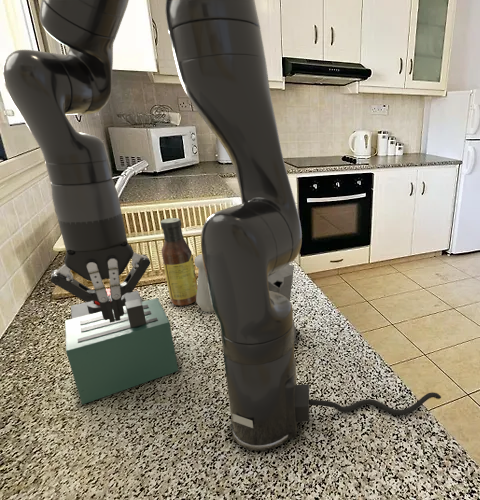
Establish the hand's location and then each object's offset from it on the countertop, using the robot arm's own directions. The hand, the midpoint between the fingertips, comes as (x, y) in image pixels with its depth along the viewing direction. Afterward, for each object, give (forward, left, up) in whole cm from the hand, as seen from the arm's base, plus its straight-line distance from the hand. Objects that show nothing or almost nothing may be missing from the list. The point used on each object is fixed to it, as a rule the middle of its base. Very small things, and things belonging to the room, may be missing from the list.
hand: (115, 319), depth 59 cm
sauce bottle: (-1, -28, -12) cm, 30 cm away
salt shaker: (-8, -24, -12) cm, 28 cm away
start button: (+13, -22, -8) cm, 27 cm away
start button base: (+13, -22, -12) cm, 28 cm away
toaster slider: (-3, -1, -2) cm, 3 cm away
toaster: (+1, -3, -12) cm, 12 cm away
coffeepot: (-23, -12, -12) cm, 28 cm away
